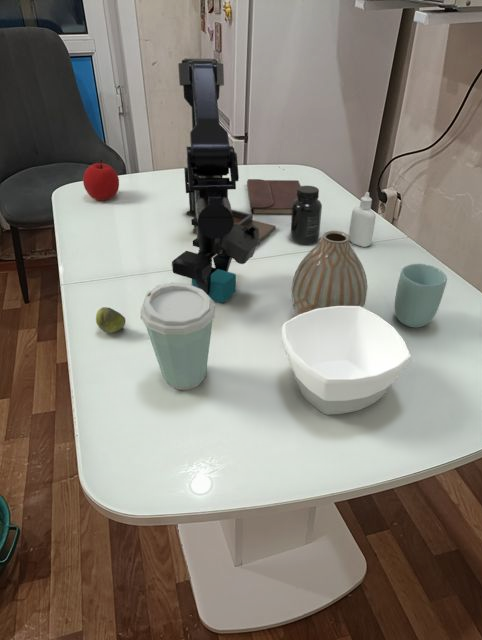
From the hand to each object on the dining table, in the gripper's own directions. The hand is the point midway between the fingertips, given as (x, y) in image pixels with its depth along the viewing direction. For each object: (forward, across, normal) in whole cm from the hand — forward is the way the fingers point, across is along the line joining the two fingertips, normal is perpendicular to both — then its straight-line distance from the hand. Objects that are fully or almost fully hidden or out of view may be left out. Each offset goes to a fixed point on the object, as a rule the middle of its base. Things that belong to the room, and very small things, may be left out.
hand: (214, 288), depth 100 cm
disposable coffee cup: (+1, -24, -9) cm, 26 cm away
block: (+1, 0, 0) cm, 1 cm away
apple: (+1, +26, +50) cm, 56 cm away
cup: (+1, +10, -37) cm, 38 cm away
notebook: (+1, +49, +10) cm, 50 cm away
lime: (+1, -20, +9) cm, 22 cm away
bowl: (+1, -14, -31) cm, 34 cm away
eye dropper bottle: (+1, +36, -18) cm, 40 cm away
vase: (+1, +1, -23) cm, 23 cm away
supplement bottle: (+1, +31, -6) cm, 32 cm away
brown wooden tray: (+1, +26, +10) cm, 28 cm away
